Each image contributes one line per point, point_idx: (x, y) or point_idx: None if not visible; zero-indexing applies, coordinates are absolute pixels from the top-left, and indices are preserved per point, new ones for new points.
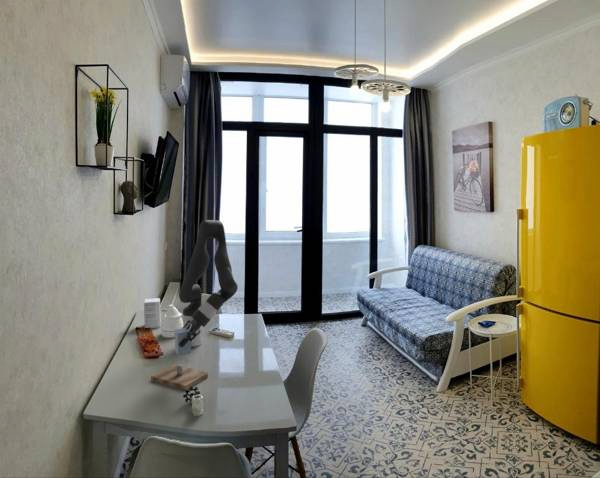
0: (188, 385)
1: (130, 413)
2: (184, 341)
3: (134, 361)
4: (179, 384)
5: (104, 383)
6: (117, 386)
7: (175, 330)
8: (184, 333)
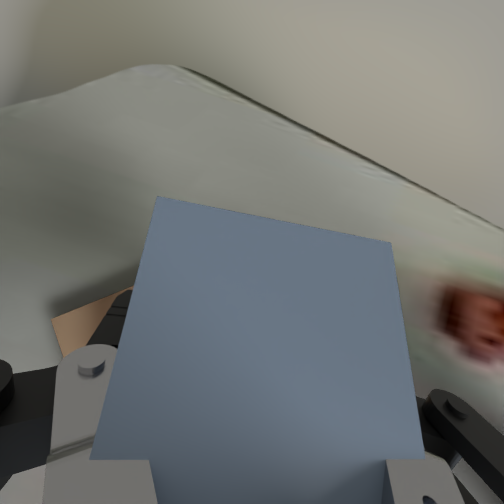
0: (59, 338)
1: (56, 115)
2: (97, 336)
3: (429, 250)
4: (99, 300)
5: (308, 141)
6: (270, 156)
7: (347, 238)
8: (121, 351)
